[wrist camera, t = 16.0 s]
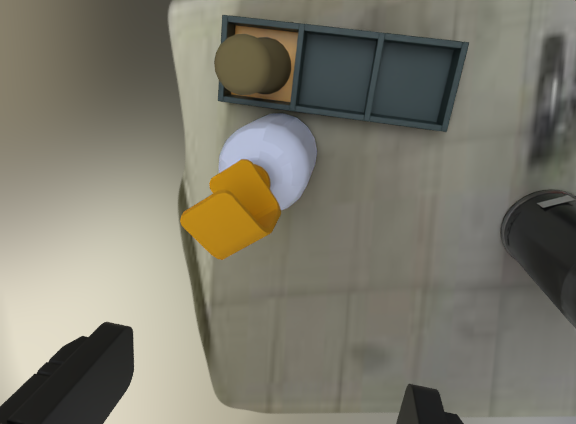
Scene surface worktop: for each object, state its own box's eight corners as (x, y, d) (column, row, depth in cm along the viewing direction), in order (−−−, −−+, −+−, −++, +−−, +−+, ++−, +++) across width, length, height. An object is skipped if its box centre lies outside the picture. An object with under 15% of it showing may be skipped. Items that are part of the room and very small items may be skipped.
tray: (460, 44, 41) (469, 42, 38) (439, 127, 44) (446, 131, 41) (231, 18, 44) (222, 14, 41) (226, 99, 47) (217, 101, 44)
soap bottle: (290, 97, 46) (229, 124, 23) (331, 164, 48) (312, 251, 25) (229, 137, 48) (119, 198, 25) (269, 199, 50) (201, 308, 27)
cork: (240, 33, 44) (206, 22, 33) (294, 40, 43) (276, 30, 33) (236, 90, 46) (203, 96, 36) (288, 97, 45) (269, 105, 35)
